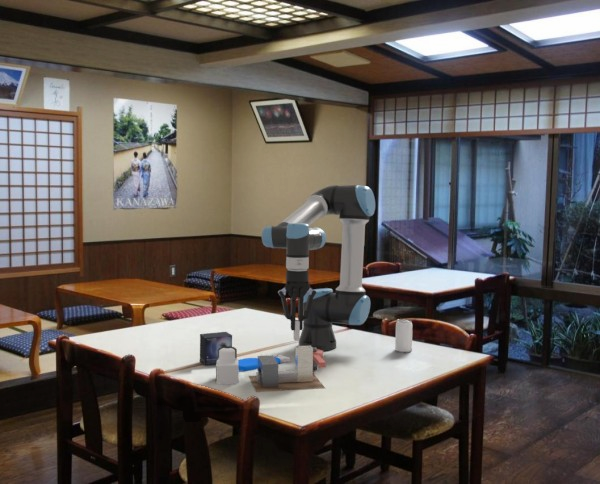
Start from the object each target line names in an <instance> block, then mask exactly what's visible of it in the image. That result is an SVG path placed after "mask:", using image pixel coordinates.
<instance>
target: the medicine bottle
mask: <svg viewBox="0 0 600 484" xmlns="http://www.w3.org/2000/svg"><path fill="white" fill-rule="evenodd" d="M237 352H238V350H237V348H236V347H234V346H232V347H231V346H225V347H221V348H219V349H218V360H217V363H216V364H215V384H216V385H229V384H230V385H235V384H237V385H238V384H239V370H238V360H239V359H238V358H237V357H238V356H237V355H238V354H237Z"/></svg>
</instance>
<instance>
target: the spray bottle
mask: <svg viewBox="0 0 600 484" xmlns="http://www.w3.org/2000/svg"><path fill="white" fill-rule="evenodd" d="M273 357H274V358H275V360H276V361H277V363H278V365H279V364H281V363H286V362H287V363H289V362H291V358H290V357H288V356H285V355H282V354H278V355H277V356H273ZM237 360H238V372H249V371H250V372H251V371H254V370H258V357H246V358H241V359H237Z"/></svg>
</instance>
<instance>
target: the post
mask: <svg viewBox="0 0 600 484" xmlns="http://www.w3.org/2000/svg"><path fill="white" fill-rule="evenodd" d="M315 371H318V365H317V364H316V363H315V361H314V360H313V372H315Z"/></svg>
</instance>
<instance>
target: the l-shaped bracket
mask: <svg viewBox="0 0 600 484" xmlns="http://www.w3.org/2000/svg"><path fill="white" fill-rule="evenodd" d="M294 368H295V370H278V383H286V382H310V381H313V373H314V371H313V348H312V347H311V346H299V345H295V367H294ZM255 375H256V382H257V384H261V372H258V371H257V372H256V374H255Z"/></svg>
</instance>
